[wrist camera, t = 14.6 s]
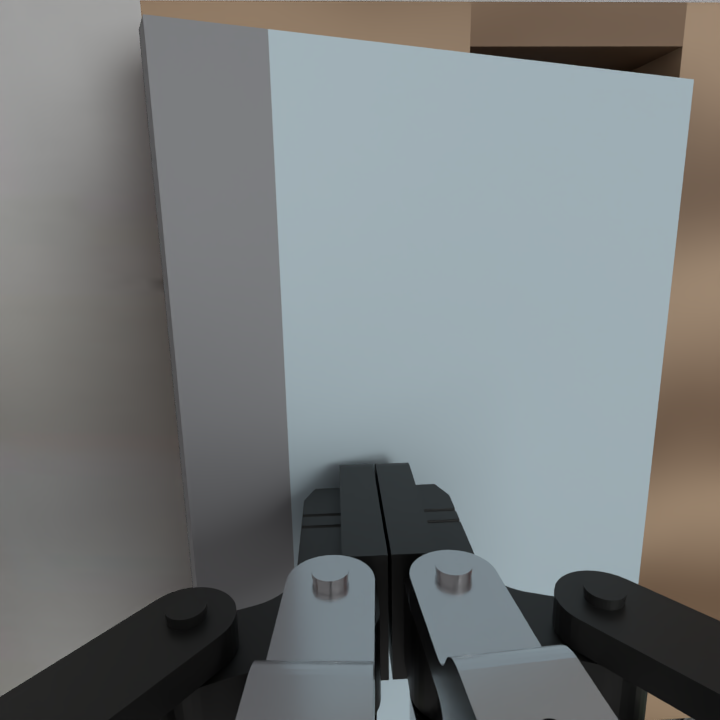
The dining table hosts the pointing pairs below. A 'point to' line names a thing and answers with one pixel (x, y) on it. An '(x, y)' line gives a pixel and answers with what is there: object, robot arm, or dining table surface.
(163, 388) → the dining table surface
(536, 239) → the cover
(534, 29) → the wooden tray
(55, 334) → the dining table surface
